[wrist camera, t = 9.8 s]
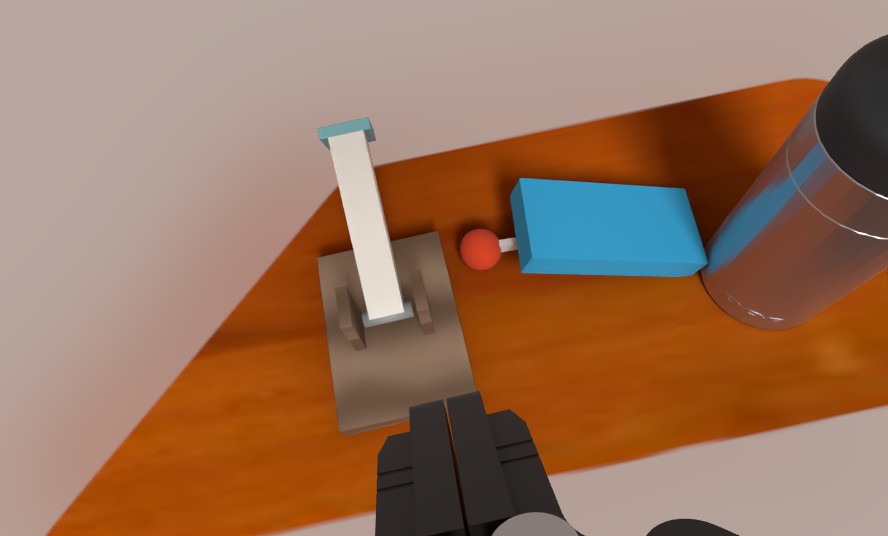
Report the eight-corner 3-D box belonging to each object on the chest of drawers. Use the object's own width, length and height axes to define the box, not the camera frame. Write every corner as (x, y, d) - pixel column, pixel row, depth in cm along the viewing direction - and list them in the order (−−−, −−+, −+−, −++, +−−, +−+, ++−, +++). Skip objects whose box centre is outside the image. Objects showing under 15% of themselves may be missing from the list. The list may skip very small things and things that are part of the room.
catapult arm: (413, 318, 39) (368, 116, 39) (363, 330, 39) (317, 127, 38) (414, 312, 43) (373, 130, 43) (369, 323, 43) (327, 140, 42)
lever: (640, 231, 51) (452, 222, 48) (684, 188, 45) (472, 174, 41) (658, 299, 48) (459, 296, 45) (708, 263, 42) (482, 256, 38)
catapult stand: (478, 405, 41) (477, 381, 35) (345, 436, 41) (319, 418, 34) (439, 242, 47) (432, 197, 41) (323, 268, 47) (298, 227, 40)
